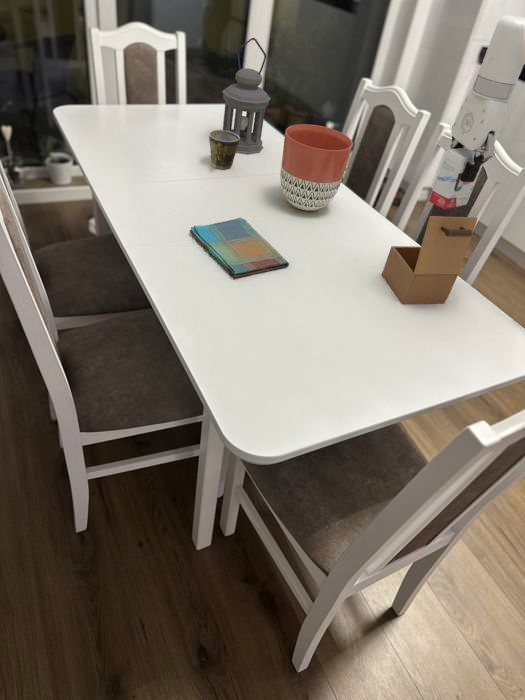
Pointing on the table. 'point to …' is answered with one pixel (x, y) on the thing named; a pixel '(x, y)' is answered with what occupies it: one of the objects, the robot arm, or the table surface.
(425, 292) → the carton
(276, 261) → the dish towel
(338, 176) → the planter
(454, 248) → the flap
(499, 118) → the robot arm
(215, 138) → the ceramic cup
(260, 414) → the table surface
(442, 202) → the ink box
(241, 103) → the lantern
